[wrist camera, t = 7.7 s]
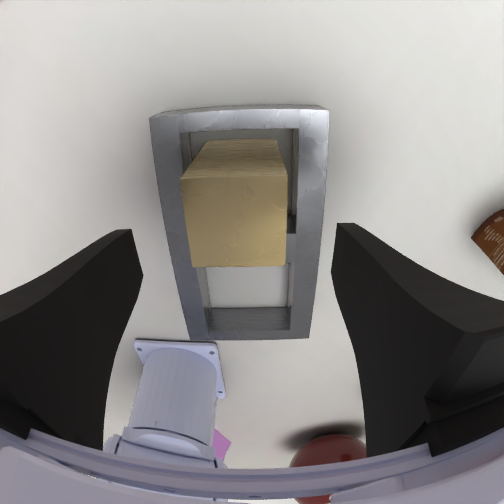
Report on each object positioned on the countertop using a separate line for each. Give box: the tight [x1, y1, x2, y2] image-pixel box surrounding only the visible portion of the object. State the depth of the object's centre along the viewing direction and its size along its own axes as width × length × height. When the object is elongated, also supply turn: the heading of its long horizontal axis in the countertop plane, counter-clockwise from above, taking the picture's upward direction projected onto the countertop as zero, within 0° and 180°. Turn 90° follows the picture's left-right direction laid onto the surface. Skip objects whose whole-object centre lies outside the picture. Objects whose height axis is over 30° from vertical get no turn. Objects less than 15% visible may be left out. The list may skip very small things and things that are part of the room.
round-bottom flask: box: [289, 434, 366, 504], centre depth 31 cm, size 13×13×20 cm
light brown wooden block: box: [180, 139, 288, 267], centre depth 15 cm, size 4×4×7 cm
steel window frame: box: [149, 105, 329, 340], centre depth 19 cm, size 16×9×2 cm, turn 2°
